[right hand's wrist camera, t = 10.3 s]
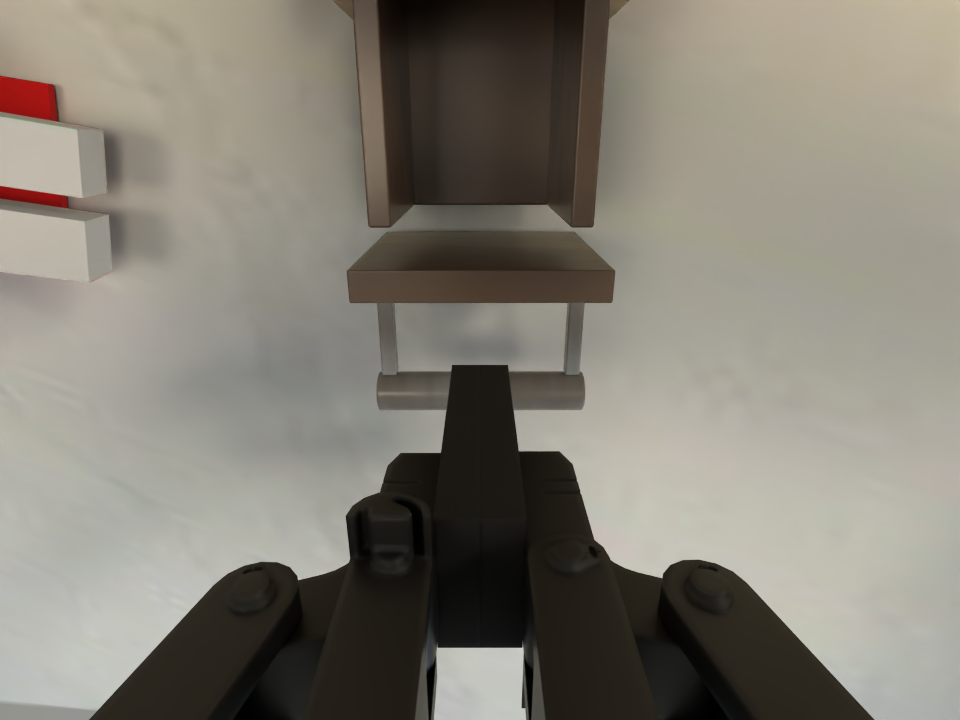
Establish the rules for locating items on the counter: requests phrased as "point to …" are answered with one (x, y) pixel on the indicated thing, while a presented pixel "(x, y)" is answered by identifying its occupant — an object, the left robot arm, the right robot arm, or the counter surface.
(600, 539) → the counter surface
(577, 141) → the drawer
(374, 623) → the right robot arm
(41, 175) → the toy
